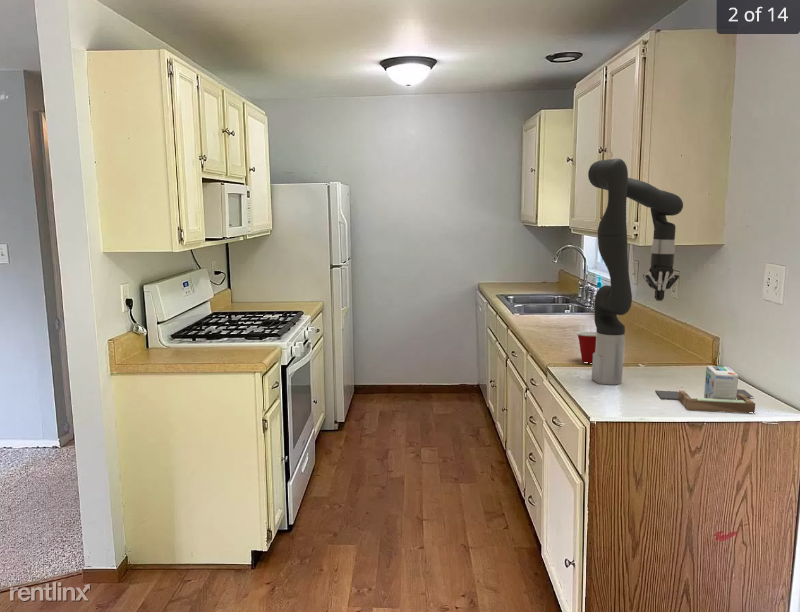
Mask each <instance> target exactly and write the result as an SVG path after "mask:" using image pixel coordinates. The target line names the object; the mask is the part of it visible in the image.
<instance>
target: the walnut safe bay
mask: <svg viewBox="0 0 800 612" xmlns="http://www.w3.org/2000/svg"><path fill="white" fill-rule="evenodd" d="M678 392H679V400H678V401H679V402H680V403H681V405H682V406H683V407H684V408H685V409H686V410H687V411H699V412H716V411H725V412H724V413H734V412H744V413H743V414H750V413H749V412H753V413H754V412H755V411H756V403H755V402H754V401H753V400H751V398H748V397H746V396H745V395H744V394H739V393H738V394H737V398H736V400H729V399H710V398H704V397H696V398H691V397H690V395H689V394H688V393H687V392H686V391H685V390H678ZM745 412H746V413H745ZM754 414H755V413H754Z"/></svg>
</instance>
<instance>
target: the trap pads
mask: <svg viewBox="0 0 800 612" xmlns="http://www.w3.org/2000/svg"><path fill="white" fill-rule="evenodd" d="M738 393H739V394H744V395H745V396H746V397H748V398H749V399H751V398H750V397H754V396H753V395H752V394H750V393H749V392H748V391H746V390H745V389H738V388H737V394H738ZM655 394H656V396H658V397H659V398H660V400H665V399H666V401H667V400H669V401H670V400H671V401H679V390H678V391H677V390H676V391H675V390H674V391H673V390H658V389H657V390H655ZM736 397H737V395H736Z"/></svg>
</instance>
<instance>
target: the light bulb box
mask: <svg viewBox="0 0 800 612" xmlns="http://www.w3.org/2000/svg"><path fill="white" fill-rule="evenodd" d="M704 380H705V382H704V392H703V393H704V394H703V398H710V399H729V400H737V398H736V395H737V389H738V386H739V385H738V382H739V374H737V372H736V371H735V370H733V369H732V368H731V367H729V366H718V365H706V370H705V379H704Z"/></svg>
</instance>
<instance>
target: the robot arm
mask: <svg viewBox="0 0 800 612" xmlns="http://www.w3.org/2000/svg"><path fill="white" fill-rule="evenodd" d="M587 175H588V176H587V177H588V181H589V182H590V183H591V185H592V186H593V187H594V188H597V189H602V190H606V191H607V206H606V209H605V212H604V213H603V215H602V216H601V217H602V218H601V219H600V221H599V224H598V227H597V247H598V251H599V254H600V257H601V259H602V261H603V262H604V265H605V267H606V268H607V271H608V275H609V280H610V285H608V284H607V285H602V286H601V287H599V288H598V290H596V293H595V297H594V324H595V327H596V331H595V332H596V349H595V353H593V362H592V364H591V365H592V367H591V380H592V381H594V382H595V383H597V384H599V385H600V384H602V385H603V384H604V385H610V386H611V385H613V386H614V385H620V384H622V382H623V367H624V349H625V333H626V327H625V324H623V322H621V321H620V320H619V318H618V316H623V315H626V314H627V313H628V312H629V311H630V309H631V307H632V302H633V301H632V300H633V295H632V294H633V292H632V287H631V281H630V280H631V279H630V274H629V270H630V269H629V259H628V258H629V256H628V255H629V254H628V229H627V199H630V200H632V201H634V202H637V203H638V204H641V205H642V206H644V207H646V208H649V209H650V214H651V219H652V220H651V221H652V224H653V237H652V238H653V239H652V245H651V250H650V251H651V253H650V254H651V255H650V267H649V269H648V272H647V273H644V274H642V278H643V279H644V280H645V282H646V283H647V285H648V287H650V288H651V289H652V290H654V299H655V301H657V302H662V301H663V300H664V299H665V291H666V290H669V289H671V287H672V286H673V285H674V284H675V283H676V282H677V281H678V279H680V275H679V274H676V272H674V271H675V270H674V268H673V267H674V262H675V261H674V259H675V252H676V251H675V250H676V244H675V243H676V242H675V240H676V227H677V226H676V224H674V223H673V222H670V221H668V219H667V216H670V217H673V216H677V215H678V214H680V213H681V212H682V210H683V208H684V202H683V199H682V198H681V197H680V196H679V195H677V194H675V193H672V192H669V191H666V190H662V189H659V188H657V187H656V186H654V185H652V184H650V183H649V182H645V181H642V180H639V179H635V178H632V177H631V178H630V177H629V173H628V166H627V164H626V162H625V161H624V160H623V159H621V158H612V159H611V158H609V159H601V160H597V161H595V162H593V163H592V164H591V165H590V167H589V169H588V174H587Z"/></svg>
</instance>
